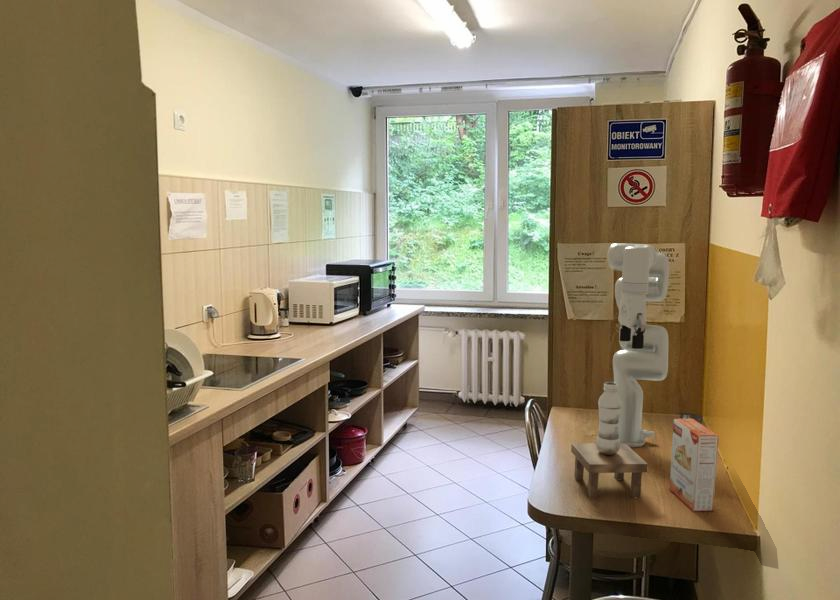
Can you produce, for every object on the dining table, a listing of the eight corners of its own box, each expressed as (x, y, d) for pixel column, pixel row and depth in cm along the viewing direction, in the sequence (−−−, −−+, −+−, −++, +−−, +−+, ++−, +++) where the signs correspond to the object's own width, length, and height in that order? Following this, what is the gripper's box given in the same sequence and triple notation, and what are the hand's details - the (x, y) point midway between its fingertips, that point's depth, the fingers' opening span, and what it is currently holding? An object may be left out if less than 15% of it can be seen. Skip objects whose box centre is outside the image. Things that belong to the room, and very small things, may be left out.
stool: (623, 475, 194) (625, 443, 193) (645, 499, 178) (647, 463, 177) (569, 476, 193) (571, 443, 192) (587, 500, 177) (589, 464, 176)
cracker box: (667, 489, 185) (672, 417, 182) (688, 489, 185) (693, 417, 183) (691, 512, 171) (697, 434, 168) (713, 511, 172) (720, 434, 169)
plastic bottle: (613, 448, 188) (616, 380, 185) (623, 457, 181) (627, 386, 178) (591, 449, 187) (594, 380, 184) (601, 458, 180) (604, 387, 178)
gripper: (611, 284, 203) (608, 338, 206) (633, 292, 186) (629, 351, 189) (635, 284, 203) (632, 338, 206) (659, 292, 186) (655, 351, 189)
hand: (631, 344), depth 197 cm, fingers open, 9 cm apart
